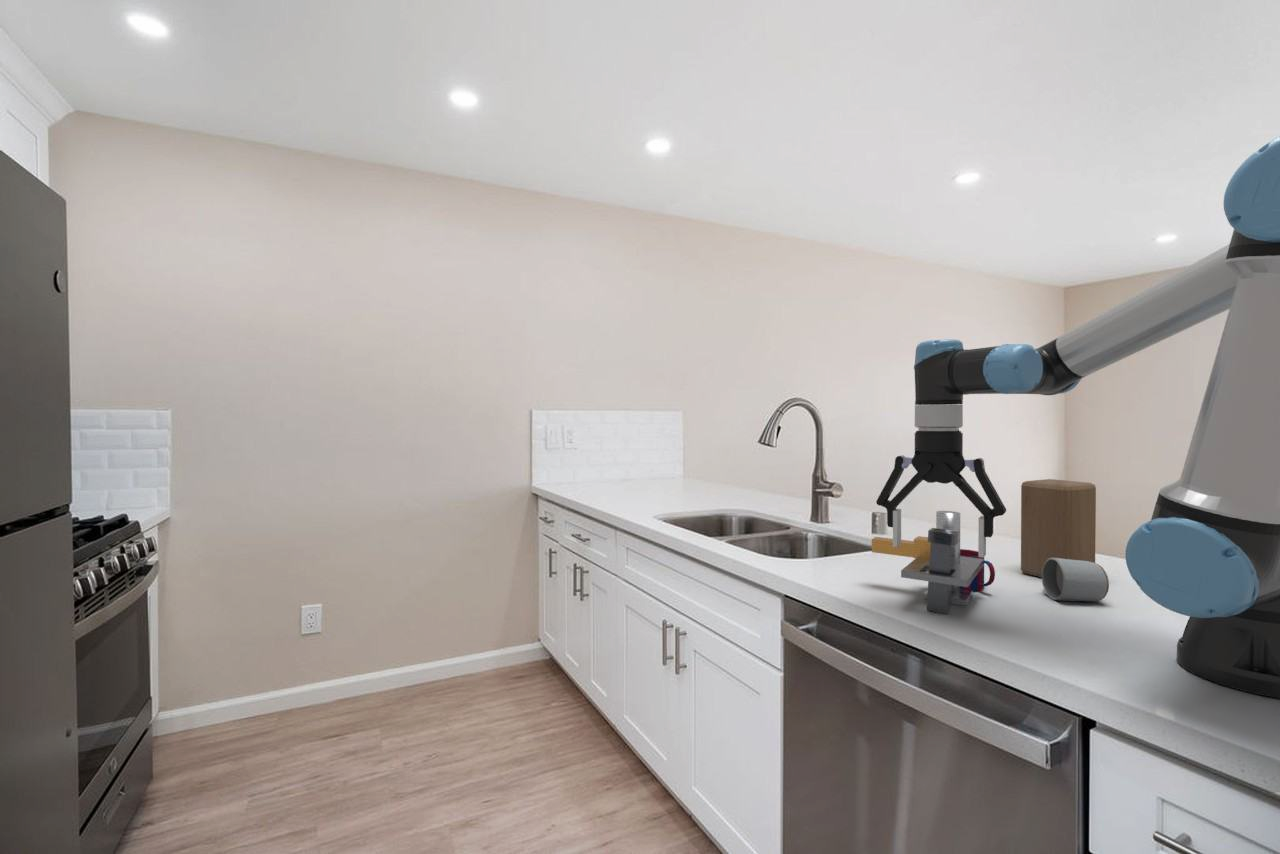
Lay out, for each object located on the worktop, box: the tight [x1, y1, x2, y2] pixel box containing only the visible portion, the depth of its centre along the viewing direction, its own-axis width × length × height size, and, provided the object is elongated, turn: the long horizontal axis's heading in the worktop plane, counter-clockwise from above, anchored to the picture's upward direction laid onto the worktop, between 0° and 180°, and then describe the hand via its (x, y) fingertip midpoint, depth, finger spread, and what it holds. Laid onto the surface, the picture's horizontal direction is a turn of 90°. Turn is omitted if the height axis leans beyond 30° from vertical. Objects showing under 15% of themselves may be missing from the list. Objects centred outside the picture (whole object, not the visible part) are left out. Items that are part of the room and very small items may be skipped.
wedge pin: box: [926, 527, 959, 616], centre depth 105 cm, size 4×3×14 cm
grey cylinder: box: [1041, 558, 1110, 603], centre depth 112 cm, size 11×8×8 cm
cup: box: [960, 548, 996, 592], centre depth 118 cm, size 7×10×7 cm
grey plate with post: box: [871, 510, 985, 607], centre depth 112 cm, size 18×19×16 cm
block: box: [1020, 478, 1097, 578], centre depth 126 cm, size 10×10×20 cm
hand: (937, 550), depth 105 cm, fingers open, 13 cm apart
